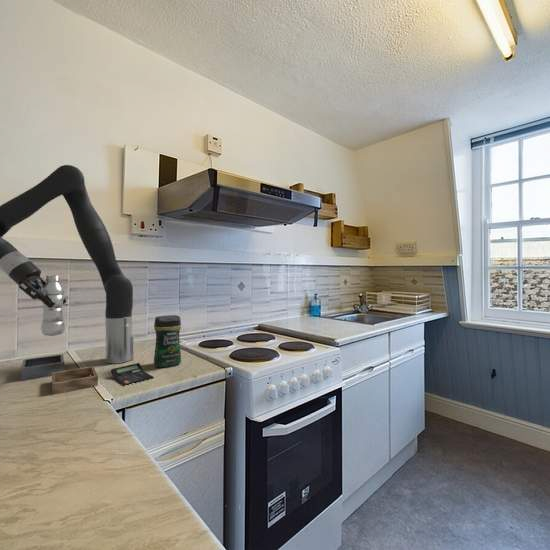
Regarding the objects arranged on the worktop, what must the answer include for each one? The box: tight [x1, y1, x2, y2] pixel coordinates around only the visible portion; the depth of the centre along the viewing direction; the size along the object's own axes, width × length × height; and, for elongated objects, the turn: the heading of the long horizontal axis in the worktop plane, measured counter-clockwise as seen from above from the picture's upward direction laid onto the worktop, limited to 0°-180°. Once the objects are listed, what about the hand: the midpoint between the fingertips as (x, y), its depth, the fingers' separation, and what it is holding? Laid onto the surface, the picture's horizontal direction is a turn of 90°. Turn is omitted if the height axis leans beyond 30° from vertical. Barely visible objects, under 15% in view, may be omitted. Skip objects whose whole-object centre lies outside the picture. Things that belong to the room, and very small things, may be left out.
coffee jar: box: [153, 314, 182, 368], centre depth 119 cm, size 10×8×19 cm
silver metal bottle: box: [40, 274, 66, 337], centre depth 105 cm, size 6×7×20 cm
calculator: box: [110, 362, 154, 387], centre depth 106 cm, size 9×12×3 cm
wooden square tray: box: [51, 366, 99, 395], centre depth 100 cm, size 12×12×3 cm
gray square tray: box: [20, 354, 66, 382], centre depth 110 cm, size 12×12×4 cm
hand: (58, 304), depth 105 cm, fingers closed on silver metal bottle, 6 cm apart
